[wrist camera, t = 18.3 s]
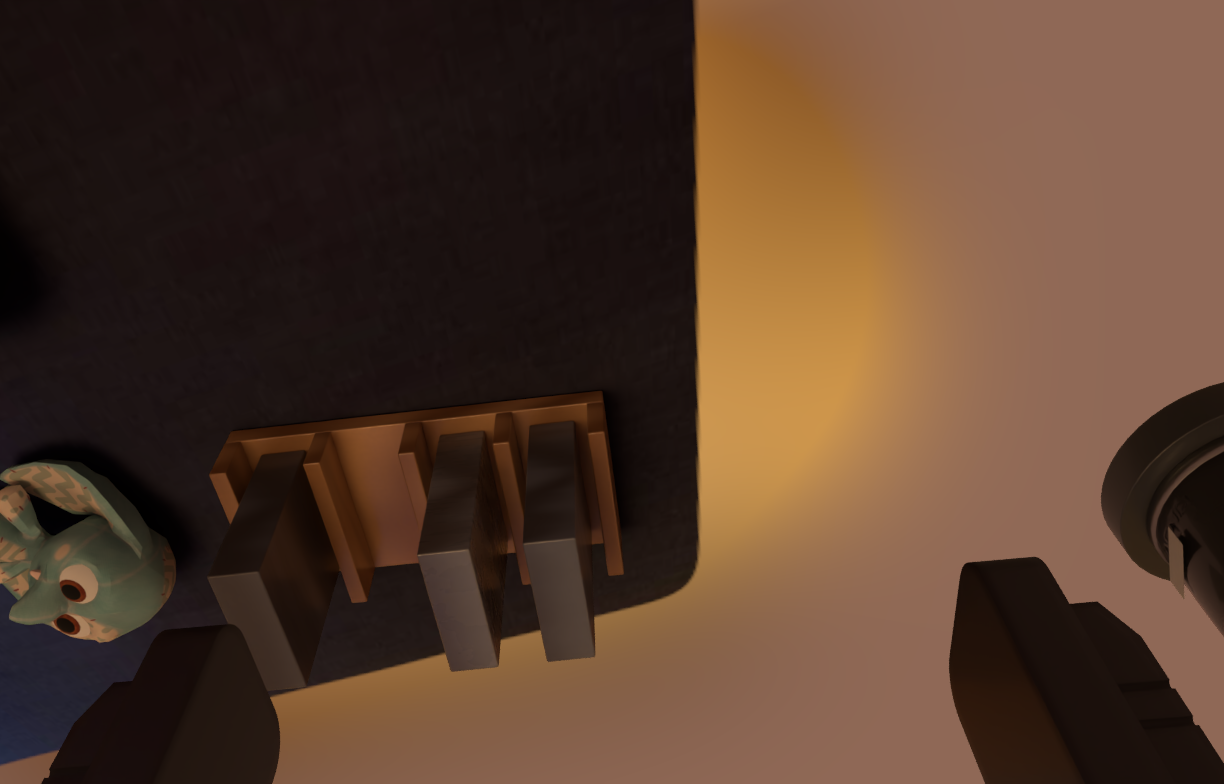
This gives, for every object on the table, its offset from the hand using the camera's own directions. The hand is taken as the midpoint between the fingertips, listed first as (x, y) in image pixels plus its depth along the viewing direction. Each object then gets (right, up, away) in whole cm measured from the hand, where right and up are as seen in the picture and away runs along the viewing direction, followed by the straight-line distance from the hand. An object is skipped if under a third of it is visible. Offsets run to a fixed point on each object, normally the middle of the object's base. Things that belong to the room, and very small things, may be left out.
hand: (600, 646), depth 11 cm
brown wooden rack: (-9, -2, +39) cm, 40 cm away
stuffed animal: (-28, -4, +39) cm, 48 cm away
